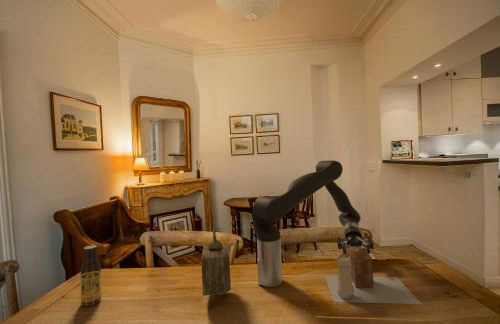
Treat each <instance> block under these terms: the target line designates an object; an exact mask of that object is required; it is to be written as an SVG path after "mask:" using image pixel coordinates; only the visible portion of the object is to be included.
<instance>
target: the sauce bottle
mask: <svg viewBox="0 0 500 324" xmlns="http://www.w3.org/2000/svg"><path fill="white" fill-rule="evenodd" d="M97 251H98V245H96V244H95V245H86V246H84V247H83V253H84V258H83V259H84V260H83V261H82V263H81V266H80V274H79V275H80V277H79V279H80V304H81V306H83V307H91V306H94V305H96V304H98V303H99V302H100V301H101V299H102V271H101V266H102V265H101V262H100V261H99V260H98V257H97V255H98V253H97Z"/></svg>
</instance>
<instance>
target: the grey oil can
mask: <svg viewBox="0 0 500 324" xmlns="http://www.w3.org/2000/svg"><path fill="white" fill-rule="evenodd" d="M231 285H232V284H231V259H230V245H228V244H225V243H222V242H221V241H220V240H218V239H217V234H216V227H215V226H213V228H212V240H211V241H209V243H208V244H207V245H203V248H202V252H201V286H202V295H203V296H210V299H209V301H208V302H207V303H206V306H207V308H211V307H212V306H213V303H212V301H213V299H214V296H215V295H221V297H222V298H225V297H226V296H227V293H229V292H230V291H231V289H232V286H231Z"/></svg>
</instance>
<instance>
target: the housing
mask: <svg viewBox="0 0 500 324" xmlns="http://www.w3.org/2000/svg"><path fill="white" fill-rule="evenodd" d="M349 259H350V261H351V266H350V267H349V269H350V273H351V278H352V282H353V284H354V285H355V287H356V288H373V276H374V268H373V266H374V263H373V261H374V259H373V257H372V256H371V254H370V253H368V252H367V251H366V250H349Z"/></svg>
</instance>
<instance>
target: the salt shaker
mask: <svg viewBox="0 0 500 324" xmlns="http://www.w3.org/2000/svg"><path fill="white" fill-rule="evenodd" d="M337 265H338V267H339V268H338V275H337V276H338V280H337V286H336V290H337V292H338V295H339V296H340V297H341V298H342V299H348V300H349V299H350V298H352V296H353V294H354V287H353V282H352V278H351V273H350V266H351V261H350V258H348V257H345V256H343V257H342V256H341V257H339V258H337Z"/></svg>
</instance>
